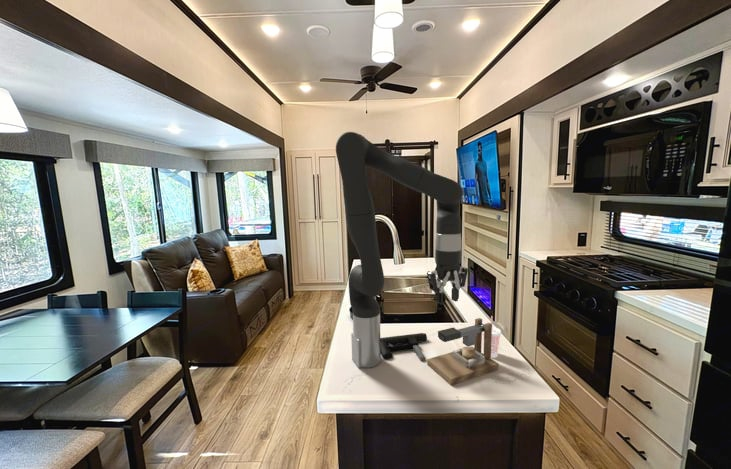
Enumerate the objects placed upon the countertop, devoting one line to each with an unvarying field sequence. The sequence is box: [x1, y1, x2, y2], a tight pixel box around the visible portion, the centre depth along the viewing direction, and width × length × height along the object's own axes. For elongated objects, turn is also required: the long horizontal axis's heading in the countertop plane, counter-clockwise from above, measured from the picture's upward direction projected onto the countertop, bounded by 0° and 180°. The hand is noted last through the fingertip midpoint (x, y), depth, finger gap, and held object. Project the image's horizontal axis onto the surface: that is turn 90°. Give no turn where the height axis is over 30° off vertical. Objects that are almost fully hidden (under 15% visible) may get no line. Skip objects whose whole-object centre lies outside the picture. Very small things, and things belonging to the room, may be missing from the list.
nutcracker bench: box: [426, 317, 500, 386], centre depth 97 cm, size 19×12×14 cm, turn 113°
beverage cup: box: [482, 315, 502, 359], centre depth 105 cm, size 6×6×14 cm
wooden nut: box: [462, 346, 475, 360], centre depth 99 cm, size 4×4×4 cm
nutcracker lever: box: [437, 322, 485, 347], centre depth 97 cm, size 18×4×6 cm, turn 113°
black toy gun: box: [380, 332, 428, 362], centre depth 109 cm, size 3×20×16 cm
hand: (447, 301), depth 92 cm, fingers open, 5 cm apart
